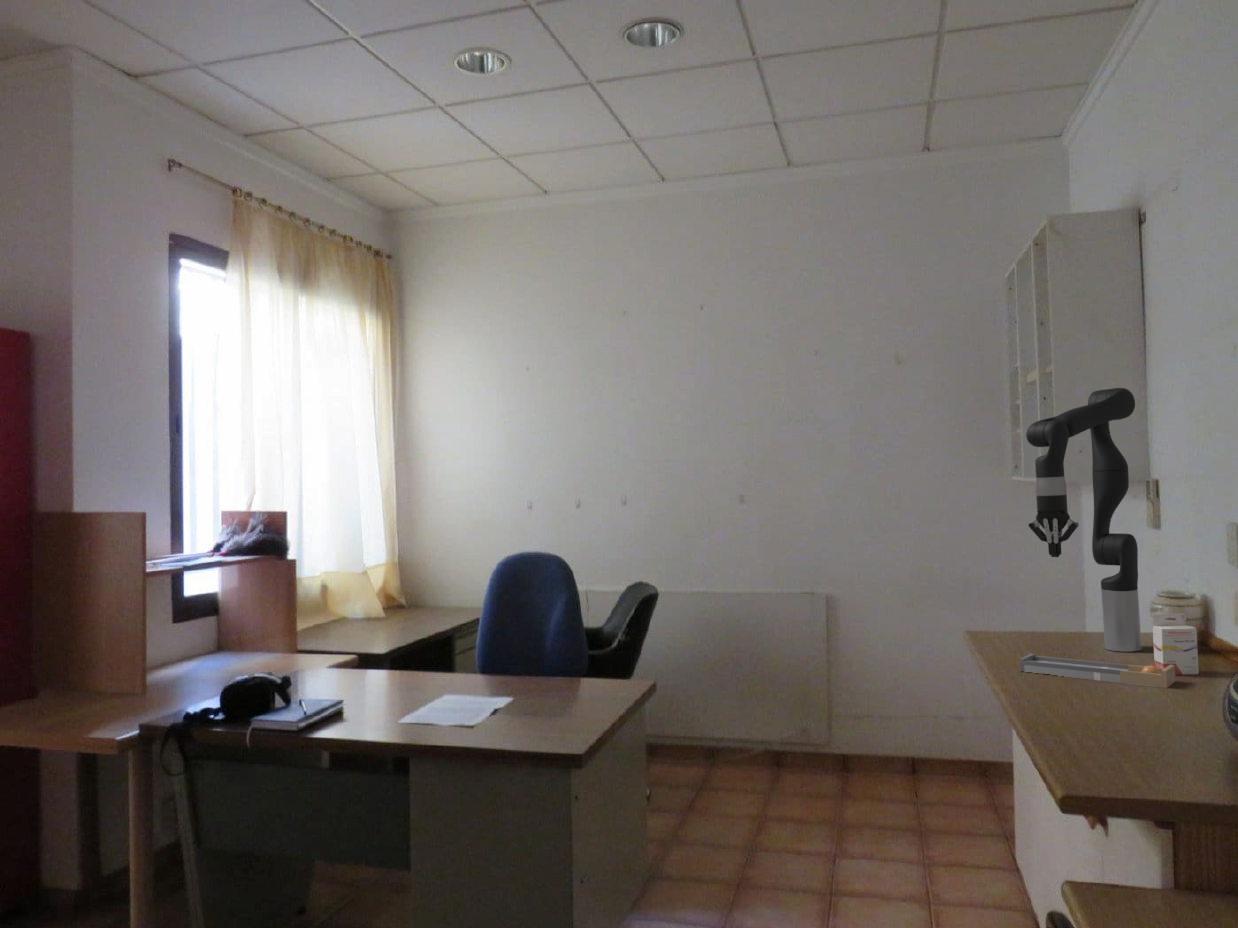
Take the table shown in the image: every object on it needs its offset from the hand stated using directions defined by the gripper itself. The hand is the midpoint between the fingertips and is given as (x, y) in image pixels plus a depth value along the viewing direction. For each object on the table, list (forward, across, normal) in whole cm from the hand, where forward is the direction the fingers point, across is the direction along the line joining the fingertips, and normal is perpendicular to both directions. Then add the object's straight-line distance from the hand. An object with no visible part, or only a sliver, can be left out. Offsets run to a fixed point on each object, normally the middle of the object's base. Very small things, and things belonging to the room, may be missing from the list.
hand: (1055, 556), depth 246 cm
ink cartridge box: (+29, -27, -2) cm, 40 cm away
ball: (+27, -25, +12) cm, 38 cm away
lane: (+29, -13, +12) cm, 34 cm away
